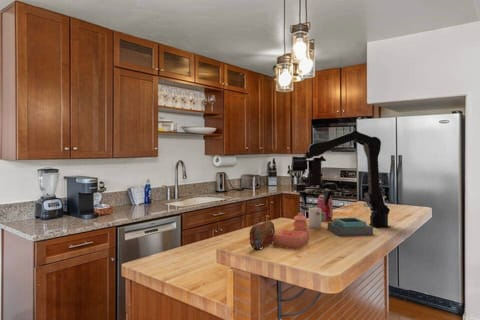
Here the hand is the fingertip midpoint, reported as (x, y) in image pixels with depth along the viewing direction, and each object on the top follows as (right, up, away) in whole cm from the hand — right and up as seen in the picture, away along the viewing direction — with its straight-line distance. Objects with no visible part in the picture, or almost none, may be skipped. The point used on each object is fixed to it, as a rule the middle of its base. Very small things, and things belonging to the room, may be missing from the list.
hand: (315, 206), depth 149 cm
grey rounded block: (0, -9, 0) cm, 9 cm away
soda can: (+8, -9, +14) cm, 19 cm away
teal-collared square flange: (+12, -9, -11) cm, 19 cm away
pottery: (-13, -10, -25) cm, 30 cm away
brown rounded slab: (-26, -10, -30) cm, 41 cm away
